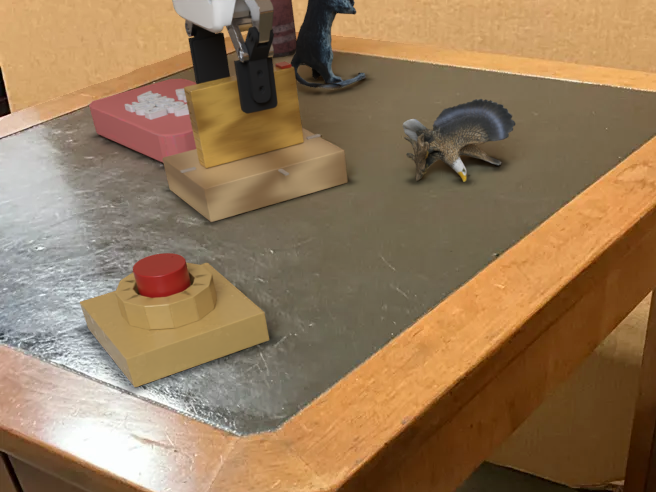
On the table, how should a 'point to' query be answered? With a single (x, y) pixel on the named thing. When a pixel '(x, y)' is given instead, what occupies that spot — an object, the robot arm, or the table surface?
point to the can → (283, 28)
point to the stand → (256, 177)
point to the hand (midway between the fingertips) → (235, 96)
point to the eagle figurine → (458, 135)
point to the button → (161, 275)
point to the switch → (174, 325)
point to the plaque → (147, 119)
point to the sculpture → (320, 42)
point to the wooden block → (242, 119)
